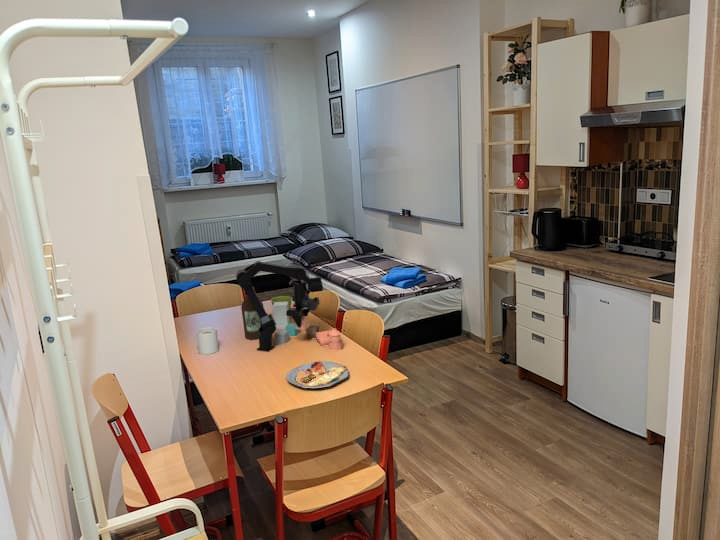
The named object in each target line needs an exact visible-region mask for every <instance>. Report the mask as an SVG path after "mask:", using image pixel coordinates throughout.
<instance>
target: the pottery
mask: <svg viewBox="0 0 720 540" xmlns="http://www.w3.org/2000/svg"><path fill="white" fill-rule="evenodd" d="M315 335H316V339H315V341H316V340H317V341H316V342H317V343H318V345H320V346H323V347H325V346H324V345H328V346H327V347H328V350H329V349H330V350H340V349H342V350H343V347H344V346H343V342H342V341H341V339H342V337H341V332H340V331H339V330H337V328H332V329H331V330H330V329H329V330H324V331H320V332H317V333H315ZM330 350H329V351H330ZM340 351H341V350H340Z"/></svg>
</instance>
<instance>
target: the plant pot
mask: <svg viewBox="0 0 720 540" xmlns="http://www.w3.org/2000/svg"><path fill="white" fill-rule="evenodd" d="M293 300H294V299H293V298H292V297H291V296H288V295H287V296H286V295H285V296H284V295H280V296H275V297H272V298H271V299H270V302H271V305H272V306H273V304H274V303H275V302H288V306H289V309H290V308H292V307H291V305H292V301H293ZM290 317H291V316H289V319H290Z"/></svg>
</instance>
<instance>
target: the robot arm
mask: <svg viewBox="0 0 720 540" xmlns="http://www.w3.org/2000/svg"><path fill="white" fill-rule="evenodd" d="M260 272H264V273H270V274H275V275H282V276H286V277H289V278H291V280H290V281H289V283H288V284H289V285H290V286H293V296H292V298H293V299H292V300H293V301H294V302H293V304H292V307H291V308H290V309H288V310H287V311H286V316H290V317H291V318H292V319H293V321H294V323H295V322H296V324H297V326H298V327H301V317H302V316H309V313H310V312H311V311H312V312H315V311H316V310H317V309H318V307H319V305H320V298H319V297H317V296H316V297H313V298H311V297H310V295H309V294H308V293H307V291H309V293H318V292H324V291H323V289H324V286H323V282H322V277H321V276H316V277H309V275H307V271H306V270H305V269H304V267H303V266H301V265H282V264H276V263H274V264H273V263H270V262H263V261H260V260H256V261H255V262H254V263H252V264H250V265H248V266H247V267H245V268H243V269H242V268H241V269H239V270H237V272H236V273H235V279H236V282H237V283H238V284H239V286H240V287H241V288H242V289H243V291H245V293H246V296H248V297H249V299H250V300H251V302H252V304H253V306H254V308H255V310H256V312H257V314H258V316H259V317H260V321H261V324H262V326H261V327H260V328H259V329H258V332H259V339H258V344H259V347H258V348H256V351H261V352H270V351H272V350H273V349H275V348H276V345H273V334H275V333H276V330H277V329H276V326H275V325H276V322H275V320H274V319H273V313H269V314H268V313H267V311H266V309H265V307H263V306H264V305H263V306H262V304H261V302H260V300H261V299H260V298H259V296H258V294H257V293H256V291H255V287H254V286H253V284H252V280H251V279H253V278H254V277H255V276H256V275H257V274H258V273H260ZM253 287H254V288H253ZM259 299H260V300H259Z"/></svg>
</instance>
